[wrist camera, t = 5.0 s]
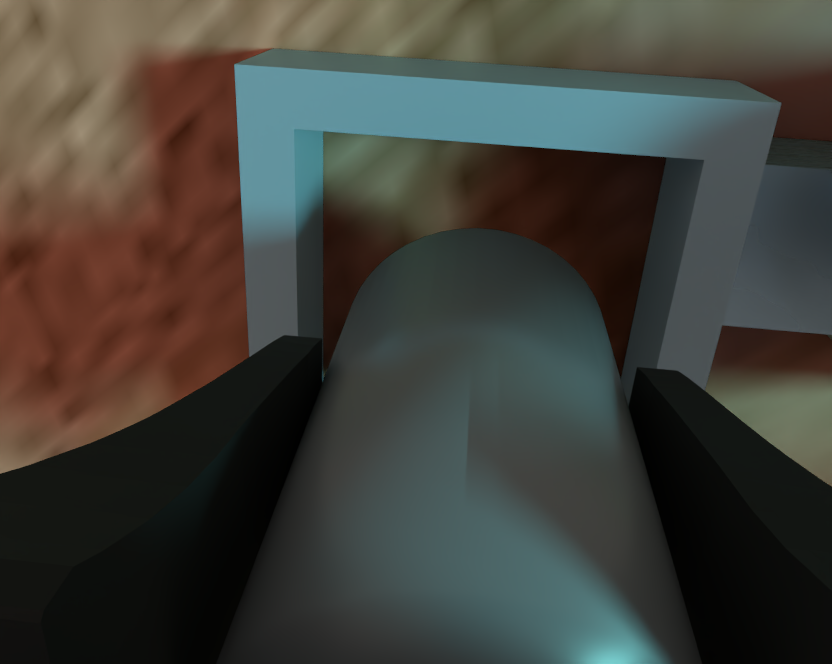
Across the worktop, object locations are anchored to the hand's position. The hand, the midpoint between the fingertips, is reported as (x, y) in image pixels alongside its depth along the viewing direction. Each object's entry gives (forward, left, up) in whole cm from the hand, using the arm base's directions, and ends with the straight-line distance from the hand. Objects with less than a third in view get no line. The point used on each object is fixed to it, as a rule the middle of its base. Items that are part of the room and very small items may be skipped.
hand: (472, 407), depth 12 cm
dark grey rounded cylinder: (0, 0, -2) cm, 2 cm away
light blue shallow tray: (0, 0, -5) cm, 5 cm away
